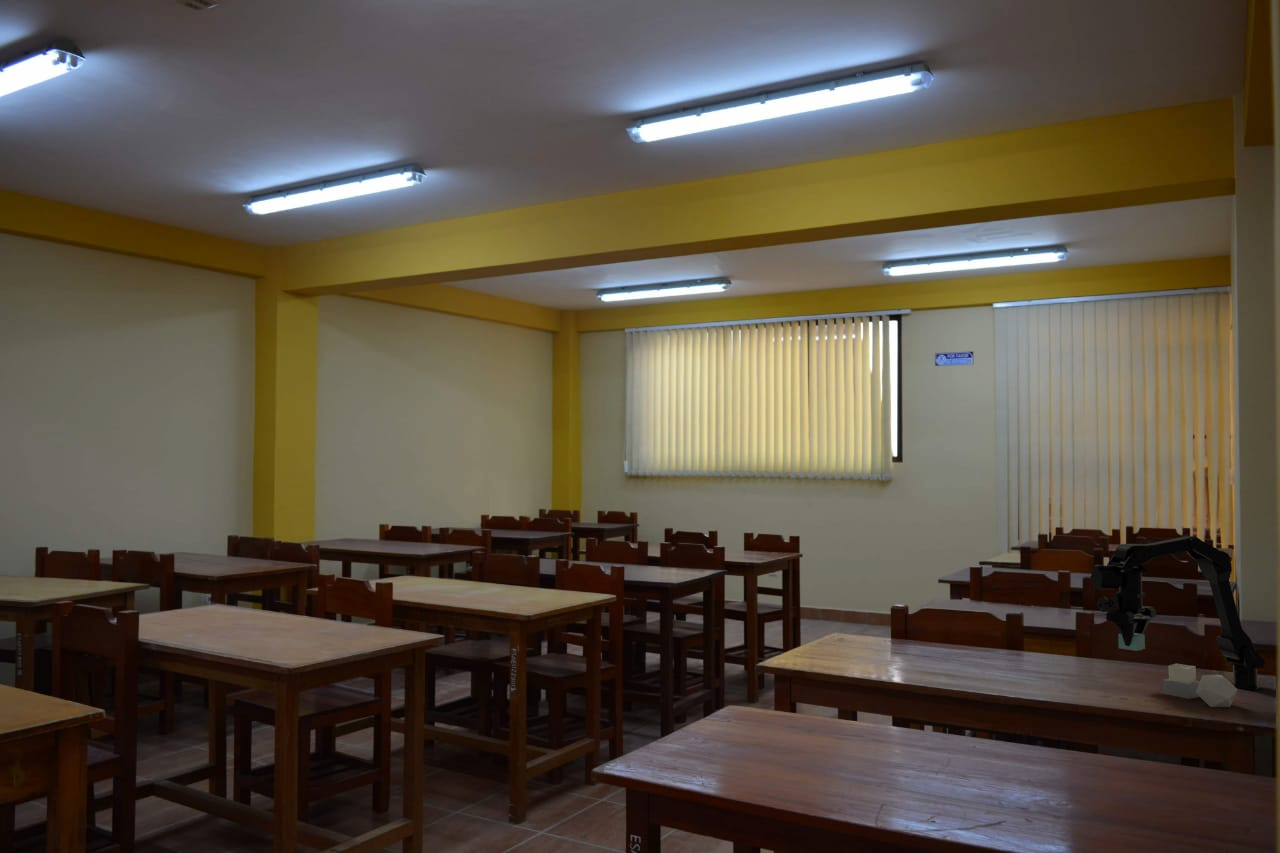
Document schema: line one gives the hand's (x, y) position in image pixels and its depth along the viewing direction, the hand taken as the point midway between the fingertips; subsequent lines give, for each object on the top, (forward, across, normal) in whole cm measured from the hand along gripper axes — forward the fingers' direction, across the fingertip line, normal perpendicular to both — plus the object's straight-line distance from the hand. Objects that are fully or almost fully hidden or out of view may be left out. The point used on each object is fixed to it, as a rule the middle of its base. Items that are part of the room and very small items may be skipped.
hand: (1131, 644), depth 261 cm
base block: (+13, -4, +12) cm, 18 cm away
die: (+13, +2, +22) cm, 25 cm away
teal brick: (+1, 0, 0) cm, 1 cm away
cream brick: (+9, -4, +11) cm, 15 cm away
